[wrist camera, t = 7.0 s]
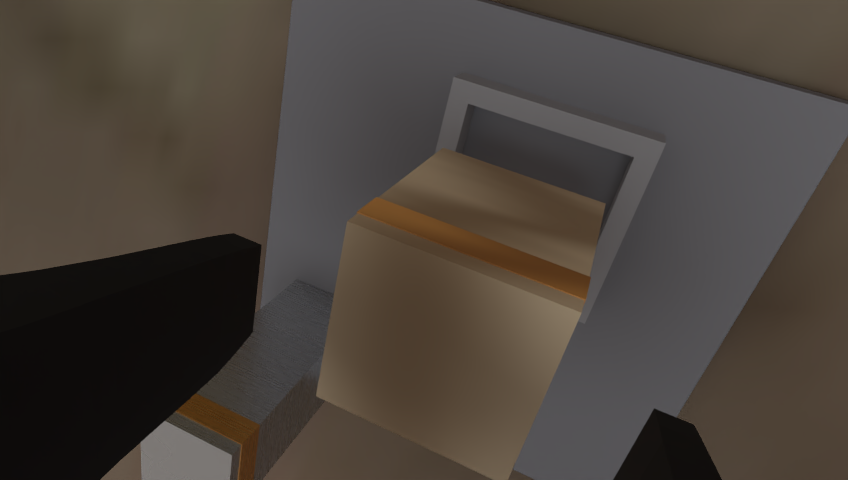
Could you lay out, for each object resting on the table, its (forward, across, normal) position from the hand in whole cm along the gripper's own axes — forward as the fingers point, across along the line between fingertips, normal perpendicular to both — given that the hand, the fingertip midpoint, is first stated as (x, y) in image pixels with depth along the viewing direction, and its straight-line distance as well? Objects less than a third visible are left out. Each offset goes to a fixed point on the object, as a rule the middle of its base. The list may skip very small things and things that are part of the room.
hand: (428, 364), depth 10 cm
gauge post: (+9, +6, +8) cm, 14 cm away
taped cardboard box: (+5, 0, 0) cm, 5 cm away
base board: (+10, +1, +3) cm, 11 cm away
